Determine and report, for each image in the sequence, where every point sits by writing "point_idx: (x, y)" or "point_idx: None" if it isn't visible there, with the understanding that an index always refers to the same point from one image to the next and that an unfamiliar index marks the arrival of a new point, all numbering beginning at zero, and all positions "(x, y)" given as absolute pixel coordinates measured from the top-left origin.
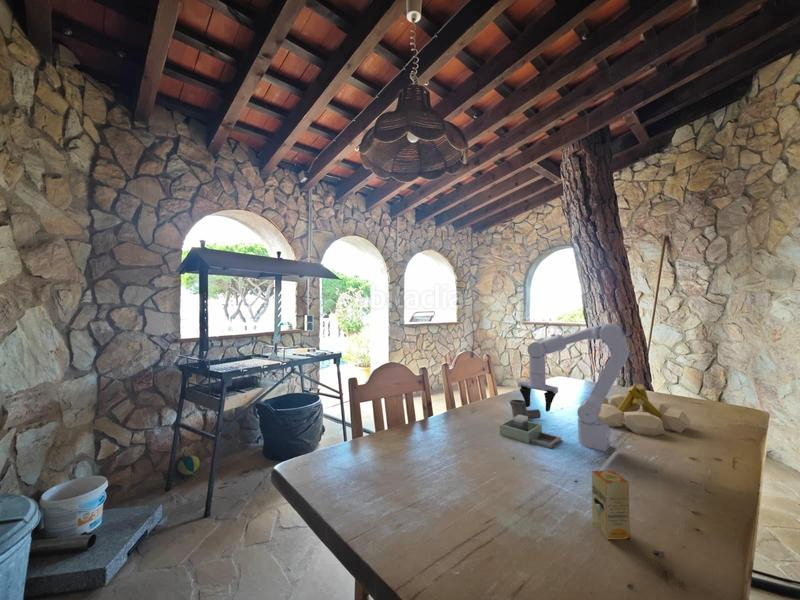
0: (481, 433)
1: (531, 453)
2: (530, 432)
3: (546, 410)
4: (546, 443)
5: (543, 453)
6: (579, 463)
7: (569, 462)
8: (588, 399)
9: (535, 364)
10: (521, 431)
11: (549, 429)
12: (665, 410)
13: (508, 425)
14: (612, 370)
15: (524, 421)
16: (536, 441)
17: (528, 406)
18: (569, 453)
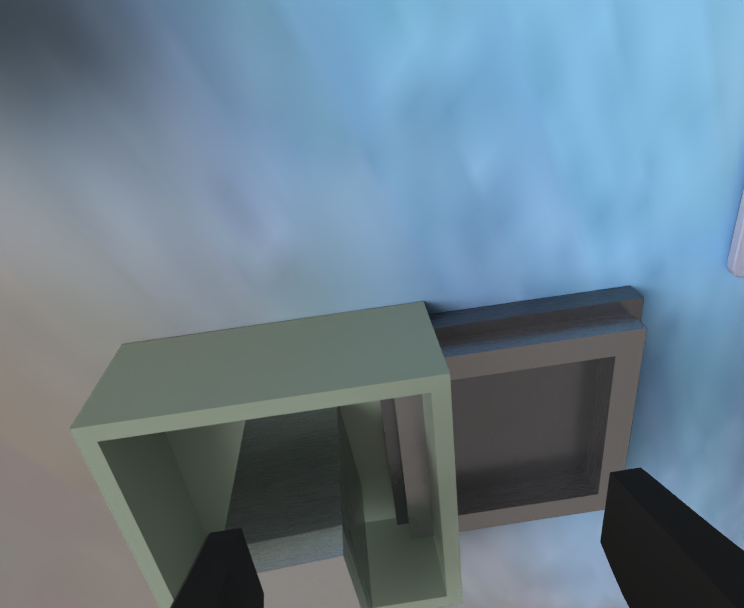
0: (74, 591)
1: (508, 567)
2: (459, 570)
3: (620, 558)
4: (582, 511)
5: (565, 521)
6: None
7: (728, 504)
8: None
9: None
10: (396, 606)
11: (362, 2)
12: None
13: (162, 513)
14: None
15: (365, 599)
16: (501, 519)
17: (254, 576)
18: (708, 406)
